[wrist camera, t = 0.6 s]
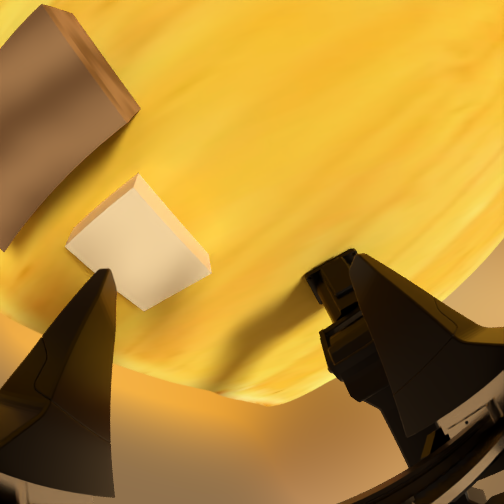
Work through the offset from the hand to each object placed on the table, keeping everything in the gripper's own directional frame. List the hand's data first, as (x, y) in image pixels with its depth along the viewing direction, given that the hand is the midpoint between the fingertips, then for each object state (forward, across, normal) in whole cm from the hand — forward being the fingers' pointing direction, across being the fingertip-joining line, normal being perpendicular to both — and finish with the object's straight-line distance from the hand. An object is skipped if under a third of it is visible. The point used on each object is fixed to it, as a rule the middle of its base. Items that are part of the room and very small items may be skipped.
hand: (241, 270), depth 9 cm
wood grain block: (+12, +14, -4) cm, 19 cm away
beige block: (+13, +6, +8) cm, 16 cm away
